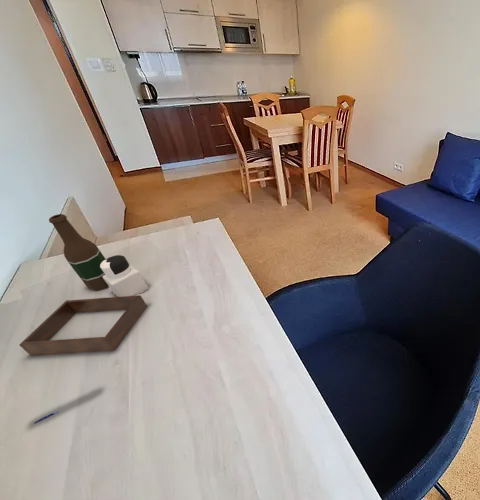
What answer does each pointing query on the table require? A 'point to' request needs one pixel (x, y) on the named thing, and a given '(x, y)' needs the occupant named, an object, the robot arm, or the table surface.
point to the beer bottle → (81, 254)
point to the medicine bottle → (122, 277)
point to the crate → (43, 345)
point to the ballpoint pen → (45, 417)
